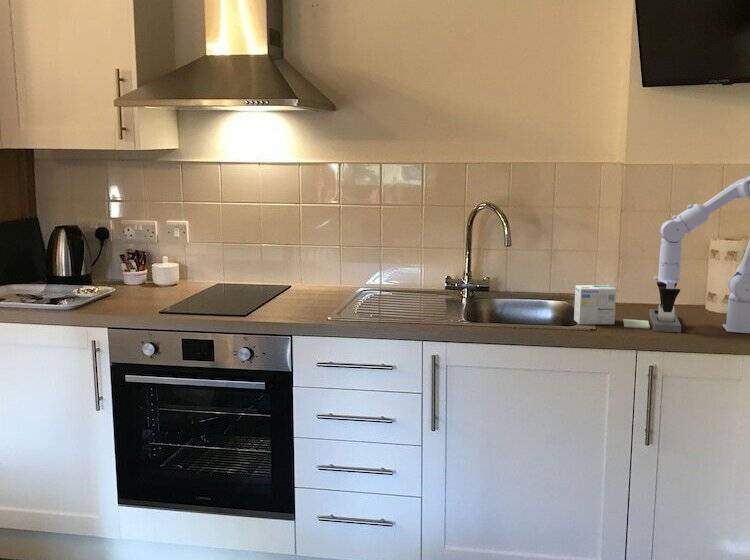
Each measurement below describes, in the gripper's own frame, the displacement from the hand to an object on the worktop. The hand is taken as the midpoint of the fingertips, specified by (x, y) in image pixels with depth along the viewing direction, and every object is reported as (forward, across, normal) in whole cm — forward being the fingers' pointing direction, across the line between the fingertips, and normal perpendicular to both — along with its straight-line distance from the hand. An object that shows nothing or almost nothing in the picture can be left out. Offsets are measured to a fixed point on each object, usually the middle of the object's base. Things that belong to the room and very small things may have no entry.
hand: (666, 309), depth 230 cm
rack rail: (+5, -3, 0) cm, 6 cm away
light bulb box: (+5, 0, -20) cm, 21 cm away
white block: (+5, 0, 0) cm, 5 cm away
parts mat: (+5, 0, -8) cm, 9 cm away
